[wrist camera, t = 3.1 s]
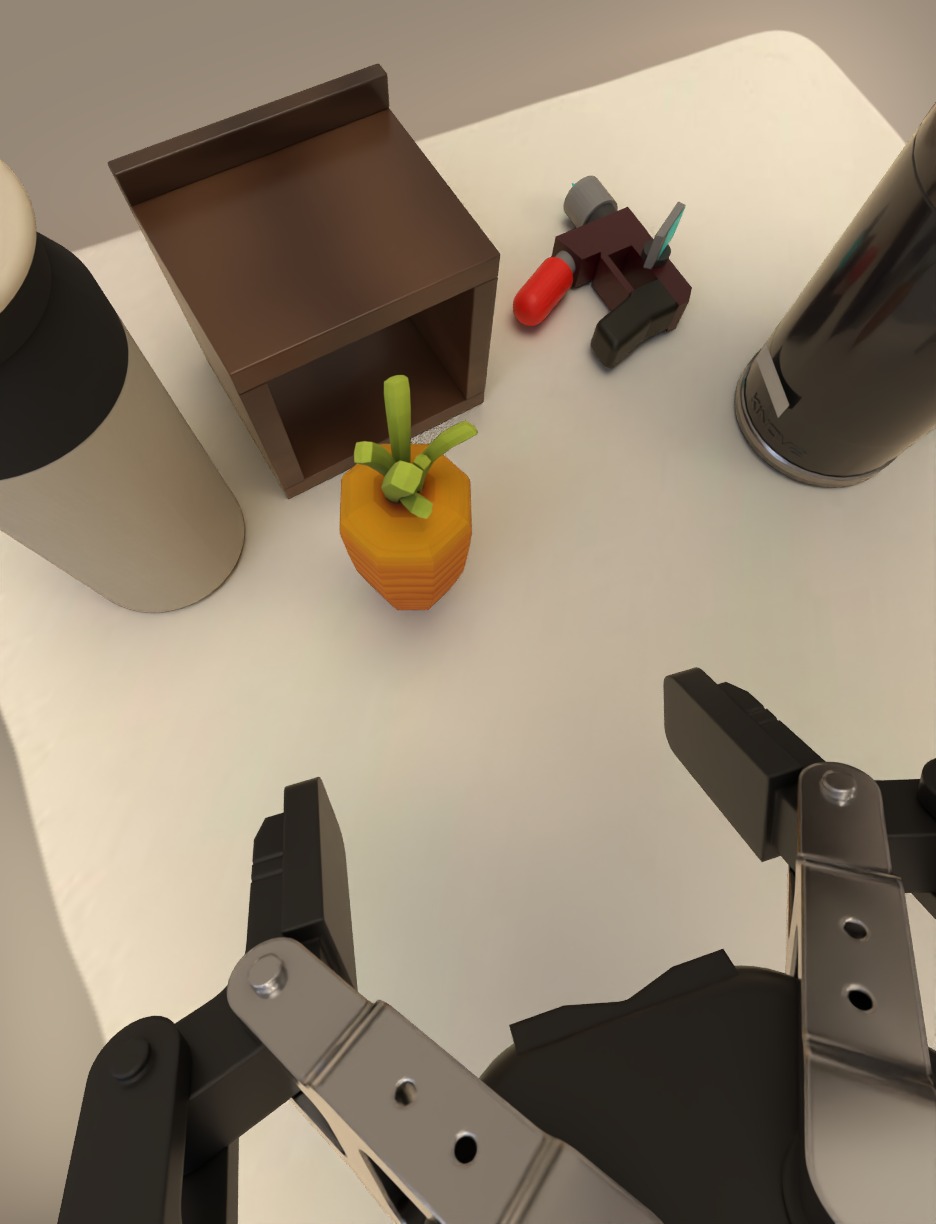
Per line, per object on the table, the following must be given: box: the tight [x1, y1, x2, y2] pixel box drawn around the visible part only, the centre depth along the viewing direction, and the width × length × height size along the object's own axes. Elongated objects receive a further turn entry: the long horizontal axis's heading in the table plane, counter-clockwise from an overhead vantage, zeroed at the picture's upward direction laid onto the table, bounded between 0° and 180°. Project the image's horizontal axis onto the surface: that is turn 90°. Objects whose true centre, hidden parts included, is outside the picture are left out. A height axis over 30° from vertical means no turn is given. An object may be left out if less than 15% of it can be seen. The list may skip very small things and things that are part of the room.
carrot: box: [340, 375, 478, 610], centre depth 25 cm, size 5×5×15 cm
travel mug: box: [0, 159, 244, 612], centre depth 24 cm, size 8×8×18 cm
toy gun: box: [513, 176, 692, 368], centre depth 36 cm, size 10×12×5 cm
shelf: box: [108, 64, 500, 499], centre depth 30 cm, size 12×10×11 cm
